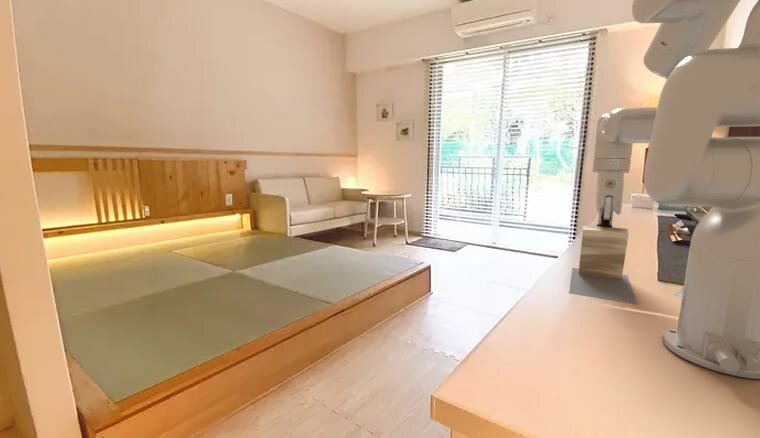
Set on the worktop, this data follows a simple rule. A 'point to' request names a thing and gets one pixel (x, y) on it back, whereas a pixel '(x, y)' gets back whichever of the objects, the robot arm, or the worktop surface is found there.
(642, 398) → the worktop surface
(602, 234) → the wooden block
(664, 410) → the worktop surface
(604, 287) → the mat
